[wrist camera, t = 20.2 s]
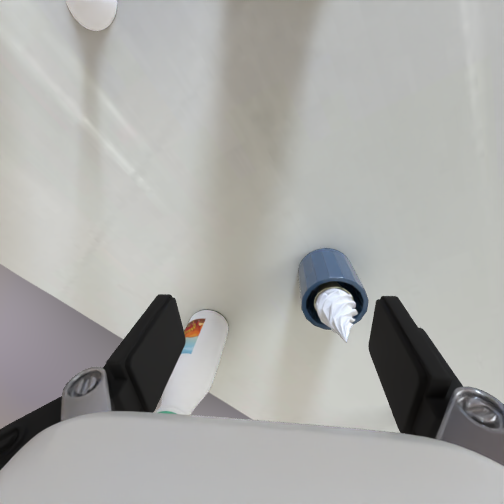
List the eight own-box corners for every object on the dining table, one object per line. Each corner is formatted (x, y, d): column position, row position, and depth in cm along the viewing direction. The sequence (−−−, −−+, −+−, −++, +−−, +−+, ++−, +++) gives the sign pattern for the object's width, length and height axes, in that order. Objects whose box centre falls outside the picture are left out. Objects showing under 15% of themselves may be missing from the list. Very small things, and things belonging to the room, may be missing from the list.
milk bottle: (225, 307, 46) (186, 416, 28) (232, 339, 49) (202, 455, 31) (186, 309, 48) (126, 414, 30) (196, 339, 51) (146, 452, 33)
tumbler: (298, 248, 39) (302, 277, 31) (354, 247, 38) (372, 277, 30) (297, 292, 43) (300, 328, 35) (348, 293, 42) (363, 331, 34)
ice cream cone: (343, 283, 40) (372, 357, 27) (311, 288, 41) (324, 362, 28) (338, 256, 38) (368, 320, 25) (305, 262, 39) (317, 327, 26)
